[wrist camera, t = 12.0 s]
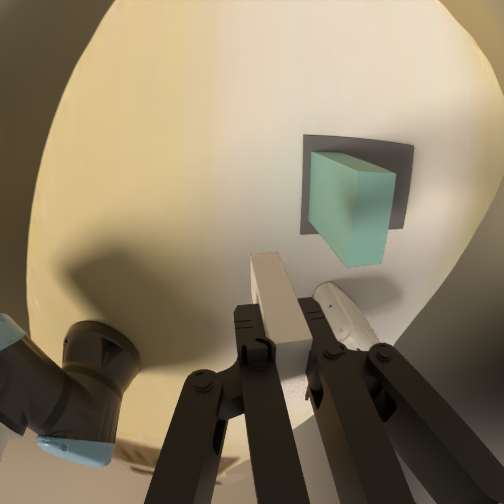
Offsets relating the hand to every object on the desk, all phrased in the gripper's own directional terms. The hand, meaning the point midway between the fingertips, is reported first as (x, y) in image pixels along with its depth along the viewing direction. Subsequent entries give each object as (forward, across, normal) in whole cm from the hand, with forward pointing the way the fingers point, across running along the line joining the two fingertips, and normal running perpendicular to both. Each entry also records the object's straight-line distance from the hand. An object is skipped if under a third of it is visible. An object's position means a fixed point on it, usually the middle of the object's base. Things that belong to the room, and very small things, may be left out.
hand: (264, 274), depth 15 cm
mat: (+19, +16, 0) cm, 25 cm away
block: (+19, +11, 0) cm, 22 cm away
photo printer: (+19, +15, -19) cm, 31 cm away
